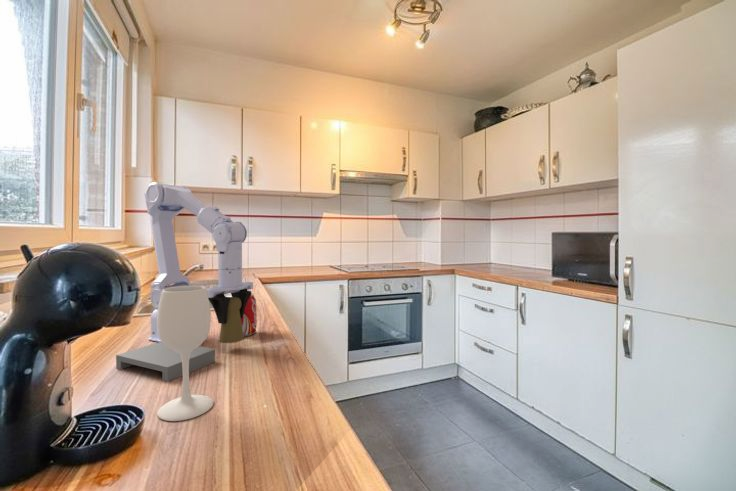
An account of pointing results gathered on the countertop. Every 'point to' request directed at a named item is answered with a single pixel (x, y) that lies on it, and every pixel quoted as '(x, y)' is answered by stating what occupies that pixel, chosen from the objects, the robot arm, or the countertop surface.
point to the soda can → (249, 317)
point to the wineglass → (184, 343)
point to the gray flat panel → (165, 359)
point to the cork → (232, 323)
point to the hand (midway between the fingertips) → (230, 320)
